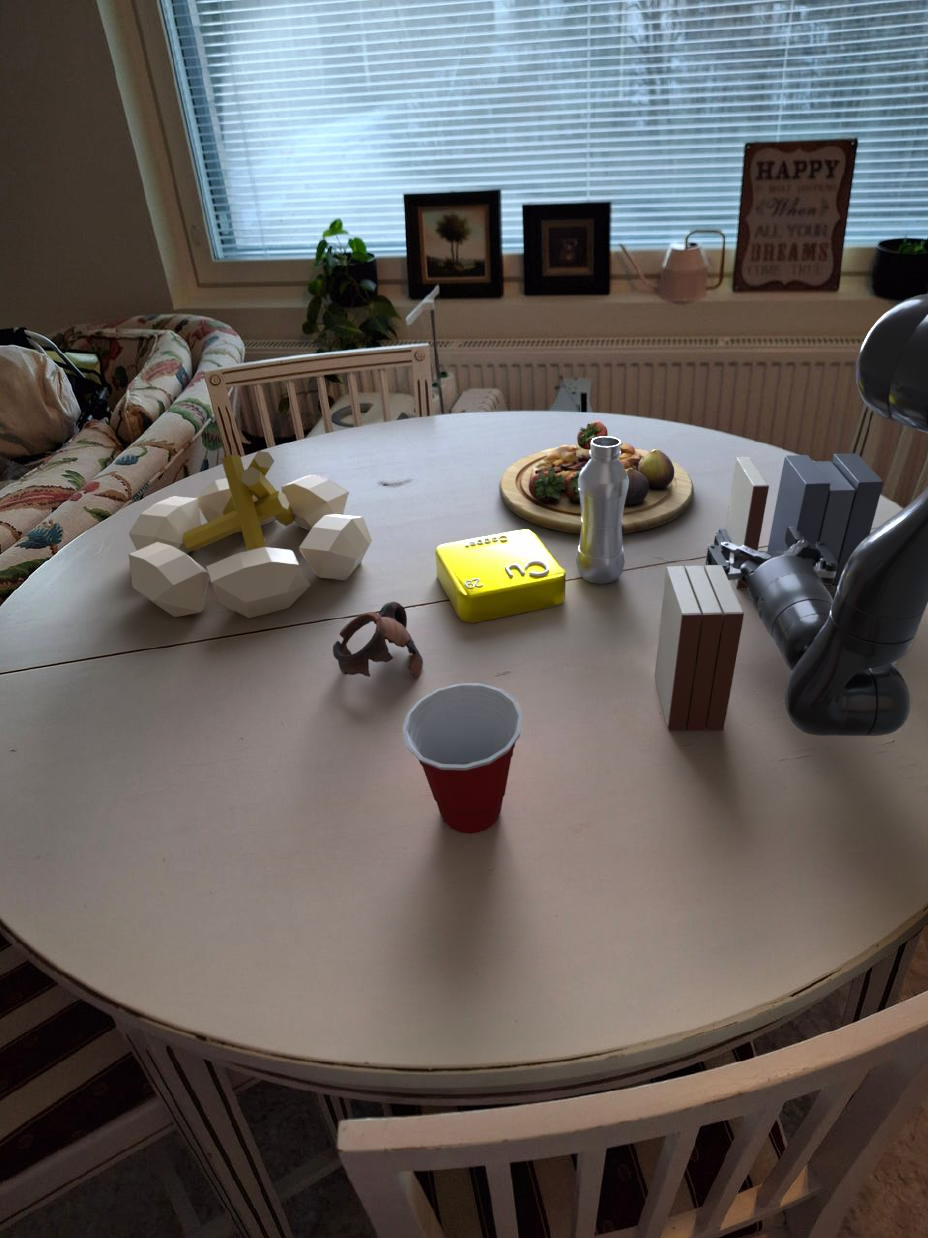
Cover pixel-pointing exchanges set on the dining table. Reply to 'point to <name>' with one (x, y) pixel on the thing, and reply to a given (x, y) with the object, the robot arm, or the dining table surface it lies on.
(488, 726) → the plastic cup
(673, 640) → the white books
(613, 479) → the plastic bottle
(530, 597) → the element tile
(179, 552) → the campfire
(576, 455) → the wooden plate
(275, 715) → the dining table surface
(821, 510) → the grey books
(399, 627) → the brown looped sculpture
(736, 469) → the cream book
